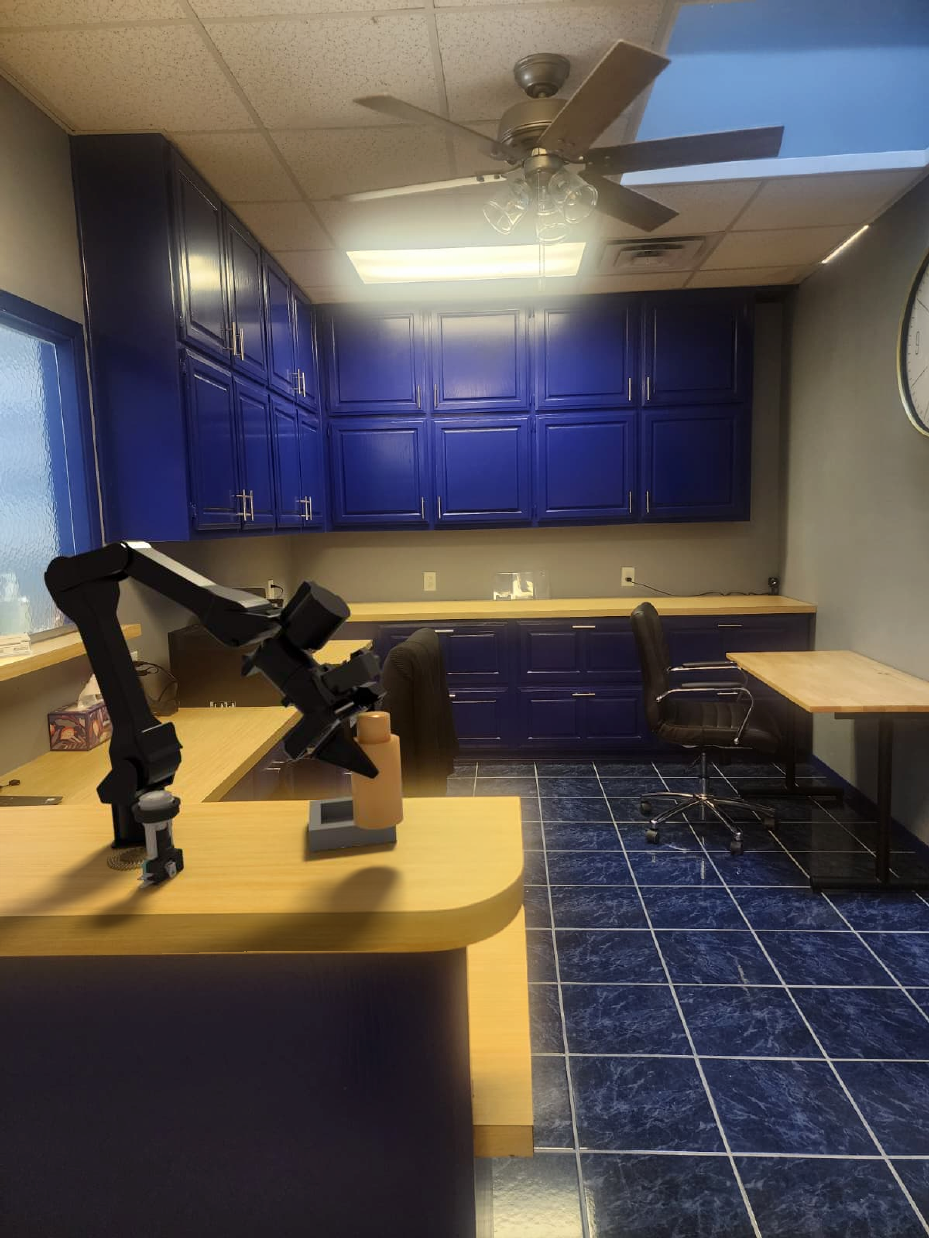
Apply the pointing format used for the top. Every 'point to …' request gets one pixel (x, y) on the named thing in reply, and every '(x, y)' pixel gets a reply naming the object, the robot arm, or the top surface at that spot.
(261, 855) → the top surface
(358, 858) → the top surface
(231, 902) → the top surface
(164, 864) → the push button
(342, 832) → the socket
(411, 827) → the top surface
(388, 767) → the peach lotion bottle
